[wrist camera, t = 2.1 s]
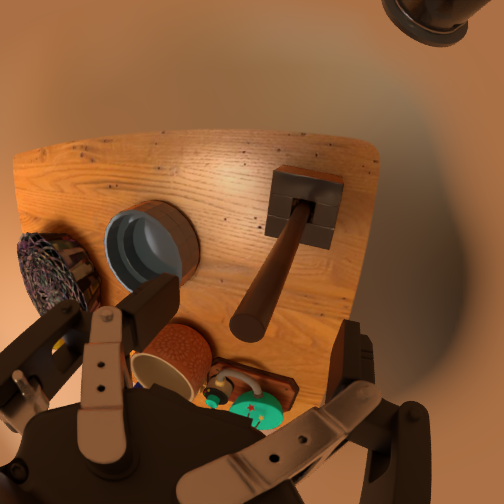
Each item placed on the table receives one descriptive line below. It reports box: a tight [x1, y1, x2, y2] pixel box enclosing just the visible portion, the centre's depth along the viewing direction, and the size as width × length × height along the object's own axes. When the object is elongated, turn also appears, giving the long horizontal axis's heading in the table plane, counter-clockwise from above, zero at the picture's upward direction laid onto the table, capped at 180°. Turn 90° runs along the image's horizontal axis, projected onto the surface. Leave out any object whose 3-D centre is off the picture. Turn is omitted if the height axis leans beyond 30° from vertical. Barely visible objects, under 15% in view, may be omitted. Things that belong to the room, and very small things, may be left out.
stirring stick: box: [229, 199, 314, 343], centre depth 23 cm, size 2×2×26 cm
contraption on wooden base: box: [199, 357, 299, 430], centre depth 44 cm, size 14×18×15 cm
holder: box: [264, 165, 344, 250], centre depth 32 cm, size 7×7×6 cm
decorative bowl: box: [17, 232, 101, 340], centre depth 51 cm, size 26×28×10 cm
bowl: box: [104, 200, 199, 293], centre depth 41 cm, size 14×14×6 cm
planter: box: [131, 324, 212, 402], centre depth 46 cm, size 12×12×11 cm
